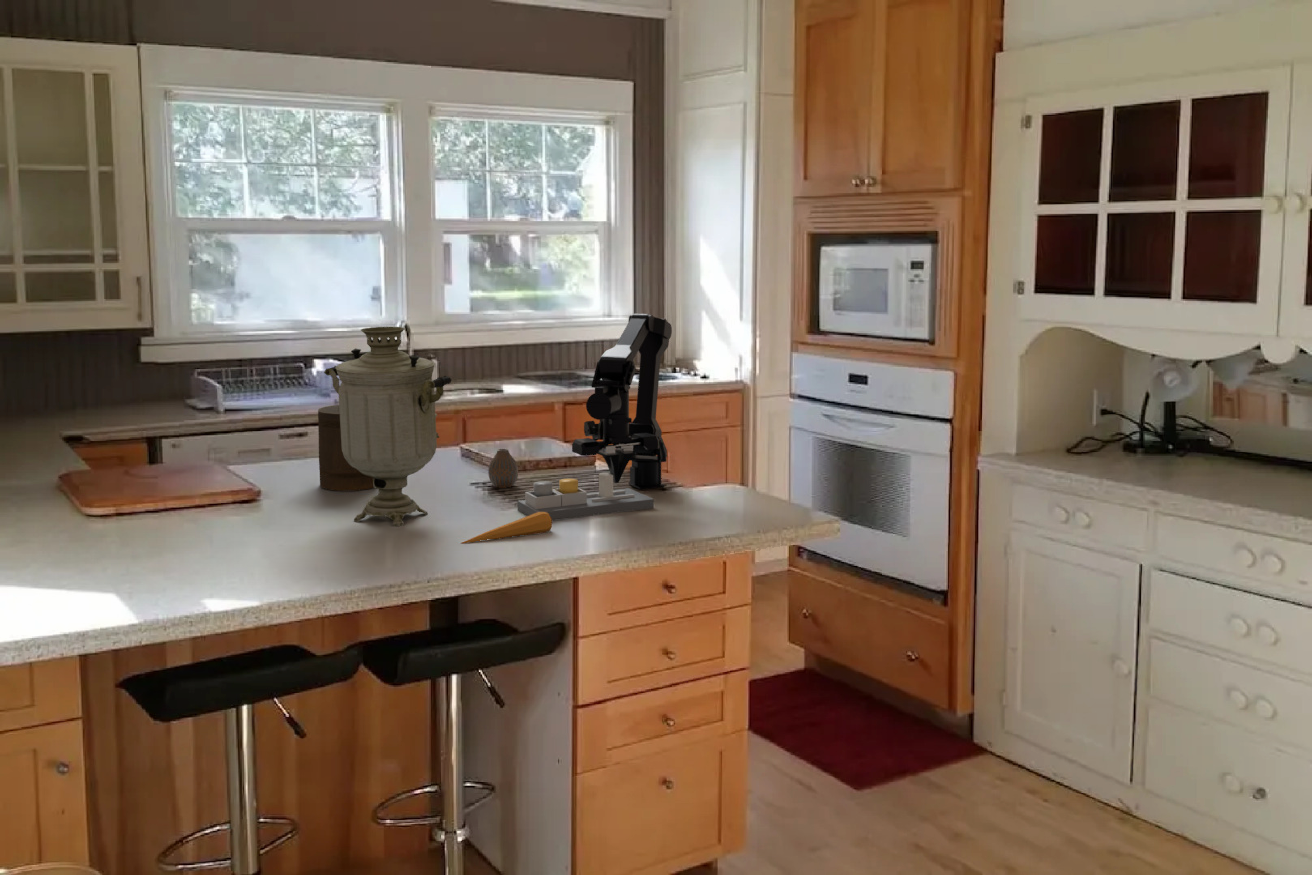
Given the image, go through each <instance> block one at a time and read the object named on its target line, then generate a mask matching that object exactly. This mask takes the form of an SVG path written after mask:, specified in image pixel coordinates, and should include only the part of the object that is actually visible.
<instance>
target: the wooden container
mask: <svg viewBox="0 0 1312 875" xmlns="http://www.w3.org/2000/svg"><path fill="white" fill-rule="evenodd" d="M317 422H318V425H317V426H318V427H317V428H318V466H319V467H318V468H319V487H321V488H322V489H324V490H328V491H338V492H355V491H366V490H367V491H368V490H372V489H376V488H375V487H373V478H372V477H371V476H367V475H364V474H362V473H361V472H360V471H359V470H357V469H356V468H354V467H352V466H351V465H350V464H349V463H348V462H347V460H346V459H345V458H344V455H343V452H342V445H341V428H340V411H339V404H334V405H327V406H323V407H319V408H318V410H317Z"/></svg>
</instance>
